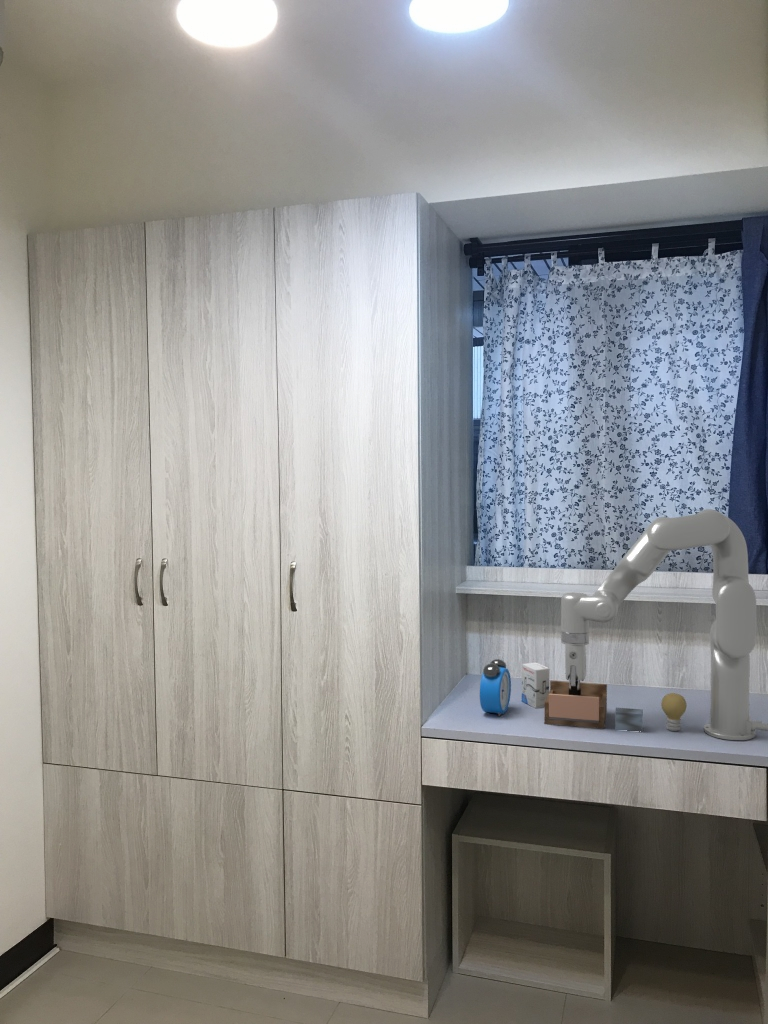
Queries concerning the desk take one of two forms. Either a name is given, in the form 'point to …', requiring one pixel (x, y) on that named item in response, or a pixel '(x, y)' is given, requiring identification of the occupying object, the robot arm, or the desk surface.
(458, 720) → the desk surface
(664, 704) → the light bulb
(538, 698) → the ink box
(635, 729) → the blue gray block
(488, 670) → the alarm clock
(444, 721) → the desk surface
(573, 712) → the panel
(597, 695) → the brown open box
